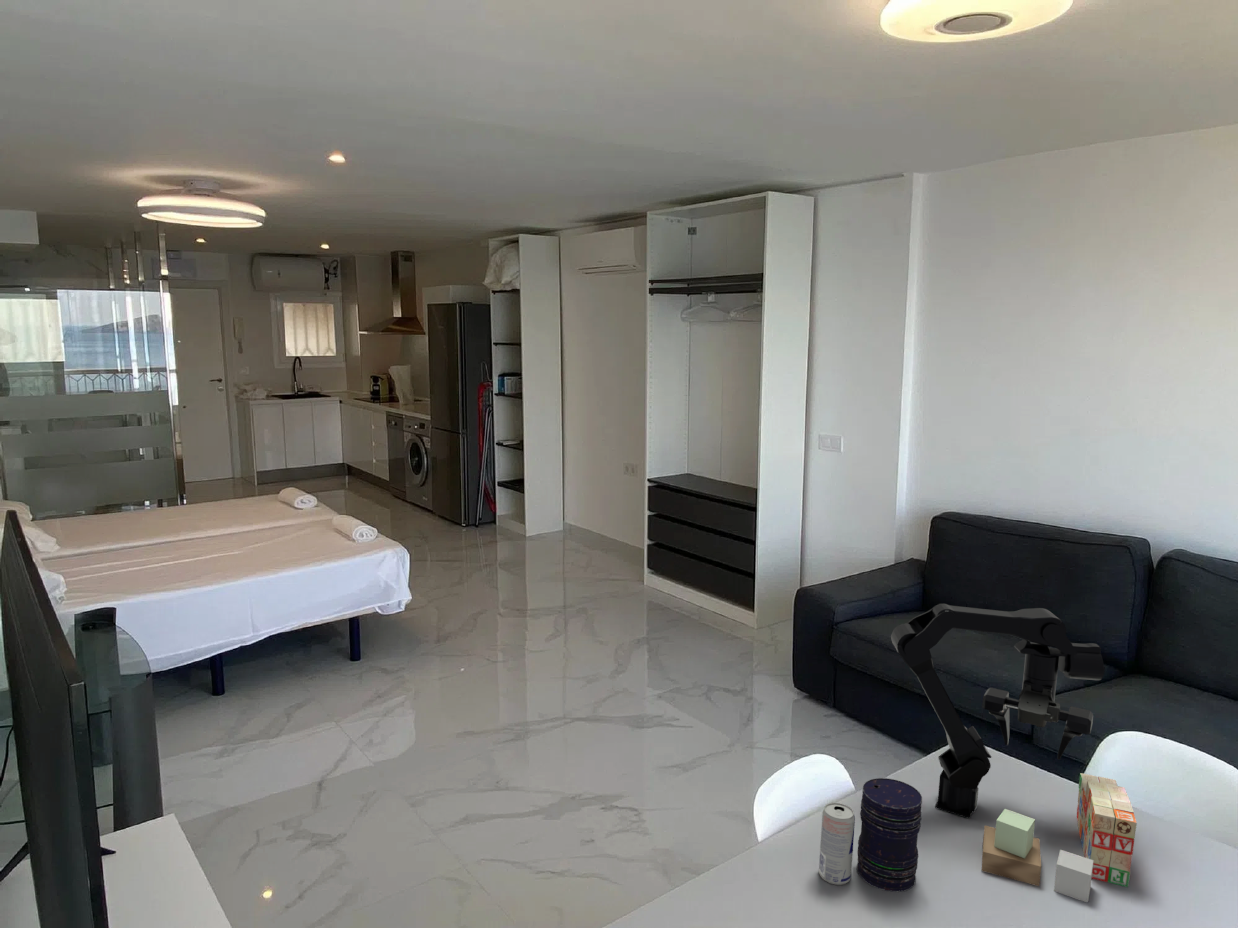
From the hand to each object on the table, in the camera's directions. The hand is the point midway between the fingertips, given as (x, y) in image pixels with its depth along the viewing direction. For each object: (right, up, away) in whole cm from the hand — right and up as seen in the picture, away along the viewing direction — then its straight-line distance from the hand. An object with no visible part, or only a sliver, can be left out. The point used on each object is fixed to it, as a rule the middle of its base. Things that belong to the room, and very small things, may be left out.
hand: (1032, 751), depth 159 cm
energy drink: (-44, -15, -19) cm, 50 cm away
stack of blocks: (+8, -15, -9) cm, 19 cm away
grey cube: (-4, -16, -21) cm, 27 cm away
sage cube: (-11, -11, -15) cm, 22 cm away
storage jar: (-35, -15, -18) cm, 42 cm away
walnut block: (-11, -15, -15) cm, 24 cm away
